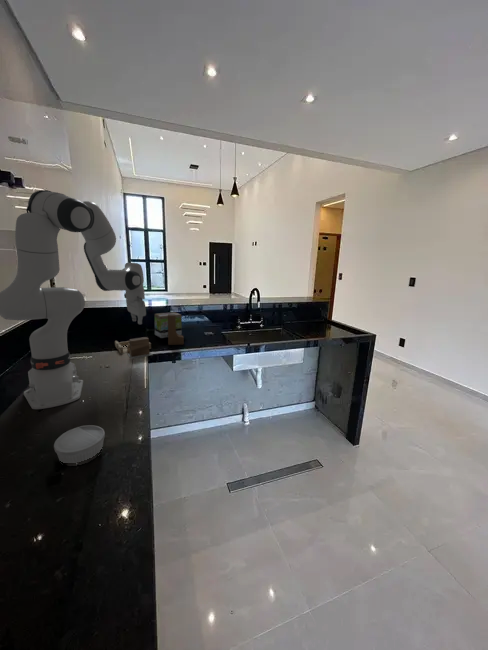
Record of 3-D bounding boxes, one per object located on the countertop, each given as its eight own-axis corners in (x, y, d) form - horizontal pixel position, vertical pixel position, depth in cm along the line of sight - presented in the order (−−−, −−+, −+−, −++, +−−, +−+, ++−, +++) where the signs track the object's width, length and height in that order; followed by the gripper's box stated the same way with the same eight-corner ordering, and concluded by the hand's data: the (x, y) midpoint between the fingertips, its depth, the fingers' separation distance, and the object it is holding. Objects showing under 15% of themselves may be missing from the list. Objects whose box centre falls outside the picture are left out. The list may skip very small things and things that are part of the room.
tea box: (161, 338, 172) (160, 316, 169) (154, 335, 180) (153, 313, 176) (182, 335, 182) (181, 314, 179) (175, 332, 189) (174, 311, 186)
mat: (152, 355, 143) (152, 354, 143) (131, 359, 136) (131, 358, 136) (148, 351, 149) (148, 350, 149) (127, 354, 142) (127, 353, 142)
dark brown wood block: (149, 353, 144) (148, 338, 142) (131, 356, 138) (131, 341, 136) (147, 351, 146) (146, 337, 144) (130, 354, 141) (129, 339, 139)
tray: (151, 349, 152) (150, 343, 151) (120, 354, 143) (120, 347, 142) (143, 342, 164) (142, 336, 163) (114, 346, 155) (114, 340, 154)
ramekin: (113, 441, 76) (111, 424, 75) (93, 471, 66) (91, 452, 64) (73, 440, 76) (71, 424, 75) (46, 470, 65) (43, 452, 64)
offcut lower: (144, 350, 149) (144, 346, 148) (129, 352, 144) (129, 348, 144) (142, 348, 152) (141, 344, 152) (127, 350, 148) (127, 346, 147)
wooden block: (183, 342, 167) (183, 314, 163) (183, 344, 163) (183, 315, 158) (168, 343, 165) (167, 314, 160) (168, 345, 160) (167, 315, 156)
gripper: (148, 297, 129) (150, 325, 132) (135, 293, 145) (137, 318, 148) (135, 298, 125) (136, 326, 128) (123, 294, 141) (125, 320, 144)
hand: (137, 322), depth 138 cm, fingers open, 8 cm apart
